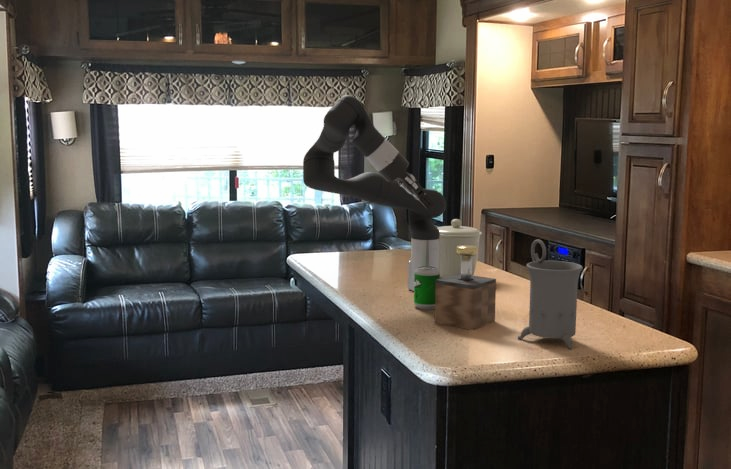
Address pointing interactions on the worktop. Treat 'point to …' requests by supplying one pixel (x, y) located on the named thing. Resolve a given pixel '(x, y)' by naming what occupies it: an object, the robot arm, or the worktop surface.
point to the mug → (552, 297)
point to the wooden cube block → (465, 301)
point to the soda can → (425, 286)
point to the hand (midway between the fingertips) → (430, 206)
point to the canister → (449, 243)
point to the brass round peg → (466, 260)
